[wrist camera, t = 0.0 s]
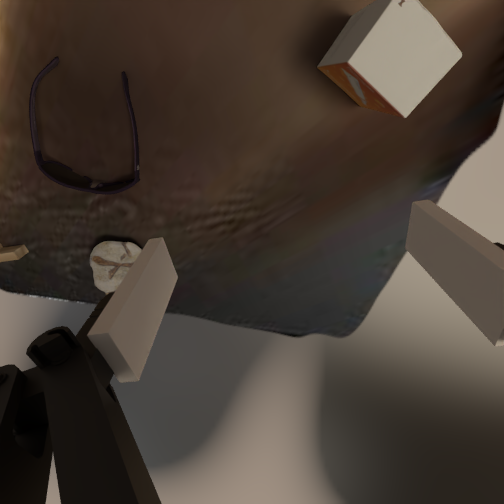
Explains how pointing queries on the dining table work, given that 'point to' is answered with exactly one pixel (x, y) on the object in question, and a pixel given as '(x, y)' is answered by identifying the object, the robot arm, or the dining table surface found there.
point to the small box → (390, 56)
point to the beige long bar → (12, 252)
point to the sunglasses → (64, 173)
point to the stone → (112, 263)
